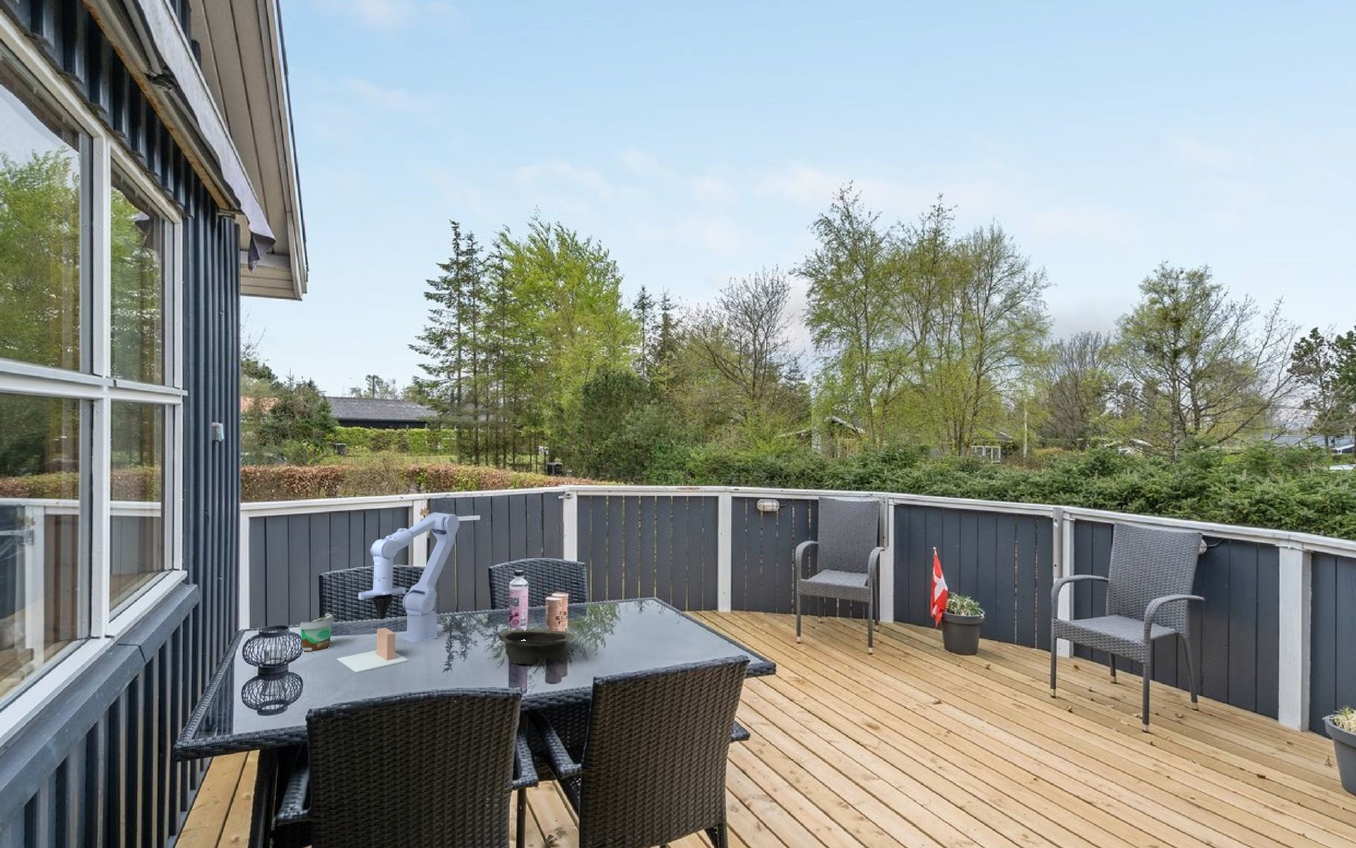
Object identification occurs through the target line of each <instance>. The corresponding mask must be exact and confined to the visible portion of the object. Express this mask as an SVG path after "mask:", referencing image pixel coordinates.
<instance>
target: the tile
mask: <svg viewBox="0 0 1356 848" xmlns="http://www.w3.org/2000/svg"><path fill="white" fill-rule="evenodd" d="M376 649H377V652H376V654H377V655H379V656H380V657H382V658H383V659H385V660H392V659H395V652H396V632H394V631H392V630H390V629H389V628H386V627H382V628H376Z"/></svg>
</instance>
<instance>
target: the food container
mask: <svg viewBox="0 0 1356 848" xmlns="http://www.w3.org/2000/svg"><path fill="white" fill-rule="evenodd" d="M333 624H335V619H334V615H333V614H331V613H328V612H327V613H325V614H324V616H321V617H319V618H317V617H316V618H314V619H312V620H310V621H308V622H305V621H304V622H303V621H301V622H300V624H299V630H300V636H301V638H300V641H301V650H302V649H303V651H304V652H307V653H311V652H317V651H322V650H328V649H329V648H330V644H331V636H332V627H333ZM328 647H329V648H328Z"/></svg>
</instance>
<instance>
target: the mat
mask: <svg viewBox="0 0 1356 848" xmlns="http://www.w3.org/2000/svg"><path fill="white" fill-rule="evenodd" d="M376 652H377V648H373V649H369V650H363V651H360V652H355V653H351V654H344V655H341V656H335V657H334V658H335V659H336V660H338V661H339V662H340V663H342V664H343V665H345V666H346V667H348V668H349V669H350V670H352V671H353V672H355V673H356V674H360V673H364V672H368V671H373V670H376V669H381V668H385V667H390V666H394V665H399V664H400V665H401V664H404V663H409V662H411V660H410V659H407V658H406V657H404V656H402V655H401V654H399V653H398V652H396V651H395V659H392V660H385V659H383V658H382V657H380V656H379V655H377V654H376Z"/></svg>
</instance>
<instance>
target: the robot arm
mask: <svg viewBox="0 0 1356 848" xmlns="http://www.w3.org/2000/svg"><path fill="white" fill-rule="evenodd" d="M460 525H461V524H460V521H459V517H458V516H457V515H456V513H455V514H454V513H446V512H445V513H444V512H436V511H434V512H432V513H430V514H427V515H426V517H425V518H424V519H422V520H420V521H419V522H417V523H416V524H415V525H412V526H411V527H409V528H405V527H403V528H401V527H399V528H398V529H397V530H396V532H393V533H392V534H390V535H389V534H388V535H387V536H385V538H384V539H383V538H382V539H381V538H380V539H377V540H375V541H374V542H373V544H372V545H371V548H370V549H369V550H370V555H372V557H373V558H372V561H373V582H372V583H373V584H372V586H373V587H372V589H370V590H365V591H361V592H360V591H359V592H358V597H357V598H358V600H360V601H361V600H363V601H364V600H365V599H366V600H367V599H371V600H372V602H373V604H374V607H375V609H376V614H377V619H378V620H385V619H386V616H387V612H388V609H389V607H390V605H391V603H392V601H393V600H394V595H400V594H401V595H404V596H403V599H402V607H403V608H404V610H405V612H406V614H407V616H406V617H407V618H406V635H403V636H402V637H401V638H402V639H403V640H405V641H408V642H409V643H412V644H413V643H419V642H423V641H427V640H433V639H438V638H439V636H438V615H437V613H436V611H435V610H434V608H435V606H436V598H437V595H438V594H437V592H436V590H435V587H436V583H437V582H438V579H439V578H440V576H441V572H443V571H442V570H443V568H444V566H445V564H446V561H447V560H448V557H449V555H450V552H451V551H452V548H453V545H454V544H455V540H456V534H457V532H458V530H459V528H460ZM428 531H431V533H432V534H433V535H434V537H435V538H436V544H435V546H434V548H433V550H432V553H431V555H430V557H429V559H428V561H427V563H426V566H425V567H424V570H423V572H422V574H421V576H420V579H419V581H418V582H417V583H415V584H414V585H411V587H410V589H409V590H408V592H406V591H407V590H406V587H404V586H400V587H399V586H398V587H393V577H394V576H393V575H394V574H393V573H394V557H396V555H397V554H398V552H399V551H401V550H402V549H404V548H406V547H407V546H409V545H411V544H412V543H413V542H414V541H413V540H414V538H416V537H418V536H420V535H422V534H424V533H426V532H428Z"/></svg>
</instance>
